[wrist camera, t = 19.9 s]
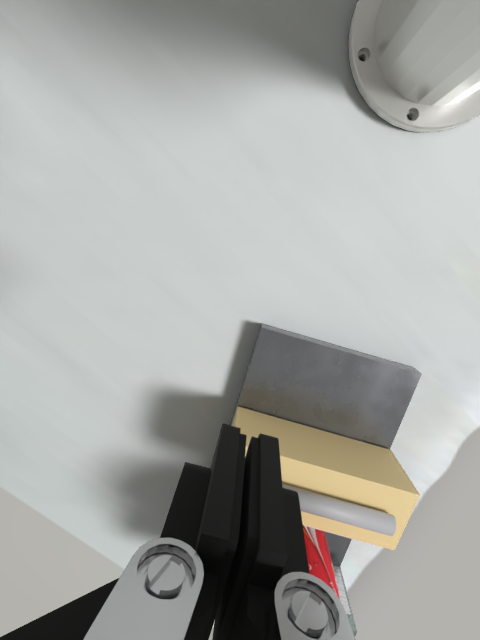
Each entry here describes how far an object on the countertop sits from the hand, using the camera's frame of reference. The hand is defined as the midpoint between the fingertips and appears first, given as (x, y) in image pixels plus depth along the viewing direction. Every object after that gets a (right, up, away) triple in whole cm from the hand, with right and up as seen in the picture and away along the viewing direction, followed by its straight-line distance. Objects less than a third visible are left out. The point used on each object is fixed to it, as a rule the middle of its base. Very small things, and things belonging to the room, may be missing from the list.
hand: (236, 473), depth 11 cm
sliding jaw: (+6, -8, +22) cm, 24 cm away
